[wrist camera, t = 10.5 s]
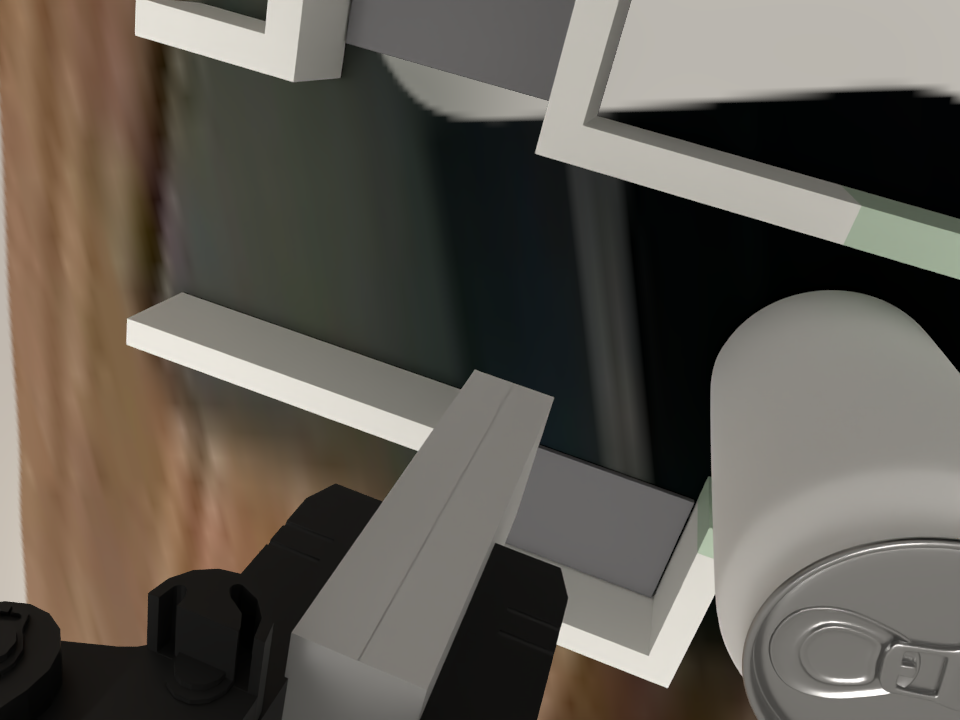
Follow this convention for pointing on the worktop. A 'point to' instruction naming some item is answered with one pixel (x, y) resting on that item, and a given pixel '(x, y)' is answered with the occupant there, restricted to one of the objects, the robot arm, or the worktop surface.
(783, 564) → the can
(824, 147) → the worktop surface
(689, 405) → the worktop surface
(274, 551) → the robot arm
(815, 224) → the trap tray
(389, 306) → the worktop surface
